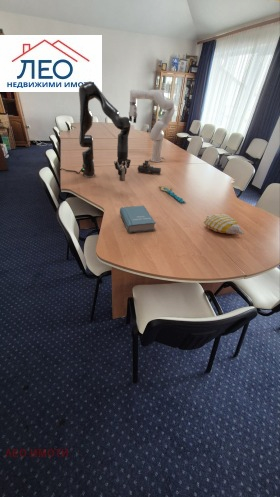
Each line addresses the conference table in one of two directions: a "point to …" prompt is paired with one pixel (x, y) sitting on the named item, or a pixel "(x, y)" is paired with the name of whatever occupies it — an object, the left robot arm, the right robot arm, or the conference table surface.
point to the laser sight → (148, 168)
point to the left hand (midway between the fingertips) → (122, 174)
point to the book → (137, 219)
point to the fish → (223, 224)
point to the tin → (122, 174)
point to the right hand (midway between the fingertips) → (132, 122)
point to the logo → (171, 193)
